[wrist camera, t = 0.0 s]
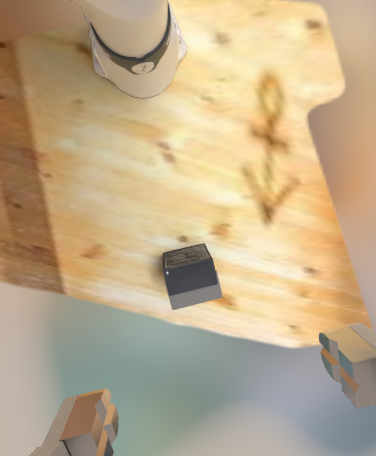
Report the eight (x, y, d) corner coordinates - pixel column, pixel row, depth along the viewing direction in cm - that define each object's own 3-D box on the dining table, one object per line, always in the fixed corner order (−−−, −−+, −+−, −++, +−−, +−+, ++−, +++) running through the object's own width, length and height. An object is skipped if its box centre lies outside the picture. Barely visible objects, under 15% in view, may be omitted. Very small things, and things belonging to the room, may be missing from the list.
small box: (168, 277, 59) (168, 298, 49) (162, 252, 58) (160, 269, 48) (210, 267, 60) (218, 286, 49) (205, 242, 58) (212, 257, 48)
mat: (165, 283, 60) (165, 283, 59) (216, 270, 60) (216, 270, 60) (172, 309, 61) (172, 310, 61) (222, 296, 62) (222, 297, 61)
